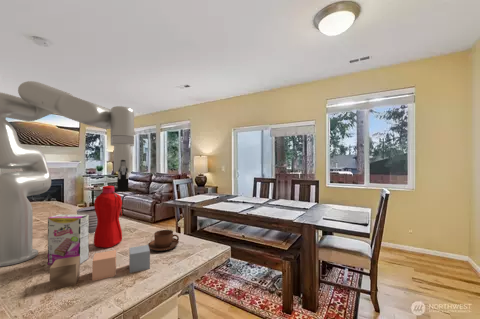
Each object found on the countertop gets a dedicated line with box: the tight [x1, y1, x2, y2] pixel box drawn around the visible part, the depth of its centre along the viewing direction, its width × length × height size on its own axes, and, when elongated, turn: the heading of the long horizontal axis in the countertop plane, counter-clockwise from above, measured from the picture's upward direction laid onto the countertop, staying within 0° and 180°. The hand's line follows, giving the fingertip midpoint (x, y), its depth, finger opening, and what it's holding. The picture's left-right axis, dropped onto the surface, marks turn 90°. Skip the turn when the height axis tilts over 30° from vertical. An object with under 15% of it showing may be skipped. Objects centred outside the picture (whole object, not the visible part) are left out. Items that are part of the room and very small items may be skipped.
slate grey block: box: [128, 244, 151, 274], centre depth 75 cm, size 6×6×6 cm
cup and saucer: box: [147, 229, 180, 252], centre depth 92 cm, size 12×12×6 cm
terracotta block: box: [91, 249, 117, 282], centre depth 70 cm, size 6×6×6 cm
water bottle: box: [93, 185, 123, 249], centre depth 94 cm, size 9×11×25 cm
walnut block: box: [49, 256, 81, 291], centre depth 65 cm, size 6×6×6 cm
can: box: [76, 205, 97, 234], centre depth 112 cm, size 11×11×12 cm
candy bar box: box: [47, 213, 90, 266], centre depth 78 cm, size 11×5×16 cm, turn 92°
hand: (122, 189), depth 79 cm, fingers open, 9 cm apart
